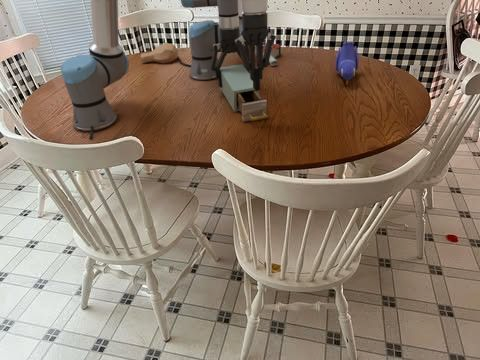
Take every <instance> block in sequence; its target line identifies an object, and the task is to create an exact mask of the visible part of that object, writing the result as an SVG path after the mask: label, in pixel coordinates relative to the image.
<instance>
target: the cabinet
mask: <svg viewBox="0 0 480 360" xmlns="http://www.w3.org/2000/svg"><path fill="white" fill-rule="evenodd" d="M220 71H221V78H222V88H220V90H221V92H222V94H223V95H224V97H225V99H226V100H227V102H228V104H229V105H230V107H231V109H232V110H233V112H234V113H237V112H240V110H239V109H238V107H237V99H236V93H241V92H247V91H252V90H255V89H254V88H253V81H252V80H251V79H250V72H249V73H248V71H247V70H246V69H245V68H244V65H243V63H241V64H235V65H228V66H221V68H220ZM256 92H257V93H258V95H259V96H260V92H261V89H260V90H258V91H256Z"/></svg>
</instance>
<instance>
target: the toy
mask: <svg viewBox="0 0 480 360" xmlns="http://www.w3.org/2000/svg"><path fill="white" fill-rule="evenodd" d="M354 44H355V42H354V41H352V40H350V41H349V42H347V41H343V43H342V47H341V46H339V47H338V50H337V52H336V55H335V60H334V69H335V71H336V72H337V73H338V74H339V75H340V76H341V78H342V79H343V80H345V85H346V86H348V85H349V81H350V80H352V79H353V77H355V75H356V72H357V71H358V69H359V65H360V59H359V58H360V57H359V52H358V48H357V46H356V45H354Z"/></svg>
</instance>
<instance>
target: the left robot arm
mask: <svg viewBox="0 0 480 360" xmlns="http://www.w3.org/2000/svg"><path fill="white" fill-rule="evenodd" d="M194 1H198V0H194ZM241 6H242V27H243V30H242V33H241V36H240V37H239V38H238V39H237V38H236V39H235V43H236V44H237V45H238V48H239V51H240V55H241V58H242V60H241V62H242V65H243V66H244V68H245V69H246V70H249V74H250V79H251V80H252V81H253V88H254V89H255V91H258V90H260V91H261V80H263V71H264V68H268V67H269V65H270V63H269V59H270V54H271V50H272V45H273V44H274V42H275V40H276V38H277V36H276V35H275V34H273V33H271V32H270V30H269V28H268V12H267V11H268V0H241ZM90 10H91V12H90V13H91V26H92V27H91V29H92V41H91V42H90V43H89V44H88V51H89V52H88V53H89V54H78V55H75V56H72V57H70V58H67V59H66V60H64V61H63V62H62V63H61V65H60V72H61V77H62V80H63V82H64V84H65V88H66V90H67V93H68V96H69V99H70V101H71V104H72V108H73V114H72V117H73V118H72V119H73V125H74V128H75V129H76V131H78V132H84V133H89V140H93V134H94V132H99V131H102V130H105V129H107V128H110V127H111V126H113V125H115V124H116V122H117V121H118V116H117V114H116V111H115V110H114V108H113V107H112V105H111V103H110V102H109V101H108V99H107V96H106V92H105V89H106V88H107V87H109V86H111V85H112V84H115V83H116V82H117V81H120V80H121V79H122V78H123V77H125V76H126V75H127V73H128V71H129V68H130V61H129V58H128V56H127V55H126V52H125V51H124V48H123V46H122V45H121V44H120V43H119V41H120V40H119V0H90ZM243 39H244V40H245V41H246V42H247V44H248V48H249V63H248V59H247V56H246V52H245V49H244V46H243V43H244V41H243ZM265 40H266V43H265V45H266V46H265V45H264V42H265ZM263 46H265V51H264V56H263ZM255 47H256V53H257V55H256V53H255ZM241 58H240V59H241Z"/></svg>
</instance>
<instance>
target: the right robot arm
mask: <svg viewBox="0 0 480 360" xmlns="http://www.w3.org/2000/svg"><path fill="white" fill-rule="evenodd" d="M180 5H181V6H182V8H185V9H196V8H209V7H210V8H212V7H213V8H214V7H217V12H218V23H215V21H214V20H212V19H210V20H208V19H207V20H201V21H198V22H195V23H193V24H191V25H190V26H189V27H188V39H189V45H190V53H191V64H188V63H185V62H183V61H182V59H181V58H180V57H179V56H178V58H176V59H177V60H178V62H179V63H180V64H181V65H183V66H186V67H190V69H189V76H190V78H191V79H192V80H195V81H211V80H218V86H219V89H221V88H222V78H221V71H220V68H221V67H222V65H223V63H224V60H225V58H226V57H227V56H228V55H229V54H237V56H238V57H239V59H240V60H241V61H242V58H241V55H240V51H239V48H238V45H237V44H236V43H235V39H236V38H237V39H238V38H239V37H240V36H241V33H242V30H243V27H242V14H243V12H242V2H241V0H198V1H194V0H180ZM243 41H244V43H243V46H244V49H245V52H246V56H247V60H248V63H249V48H248V44H247V42H246V41H245V40H244V39H243ZM156 47H157V46H155V45H154V44H153V45H152V48H154V49H155V48H156ZM218 53H220V55H219V58H218ZM247 71H248V73H249V74H250V70H247Z"/></svg>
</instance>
